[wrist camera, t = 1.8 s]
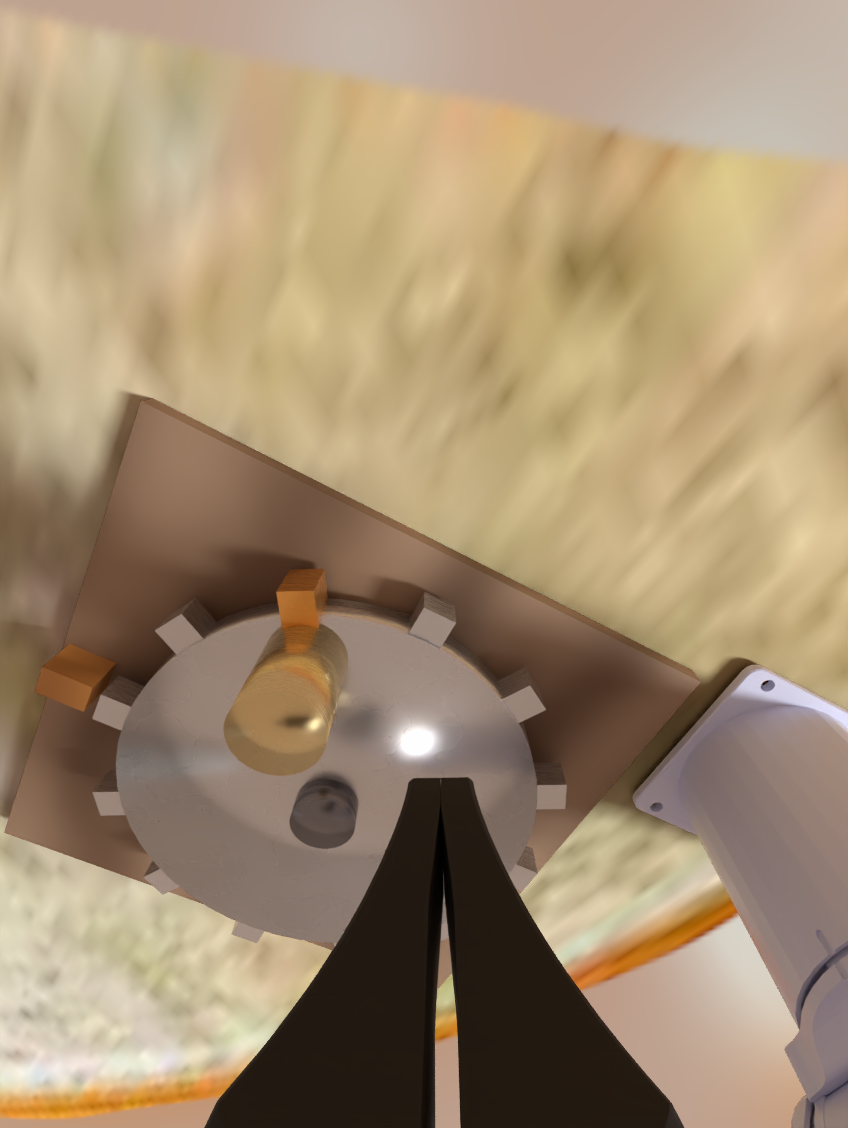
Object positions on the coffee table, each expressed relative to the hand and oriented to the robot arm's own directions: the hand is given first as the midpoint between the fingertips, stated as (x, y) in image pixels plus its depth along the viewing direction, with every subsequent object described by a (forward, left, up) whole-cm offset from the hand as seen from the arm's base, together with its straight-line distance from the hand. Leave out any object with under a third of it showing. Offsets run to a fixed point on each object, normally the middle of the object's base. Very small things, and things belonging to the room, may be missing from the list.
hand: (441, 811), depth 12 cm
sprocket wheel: (+1, +8, -8) cm, 11 cm away
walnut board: (+1, +8, -9) cm, 12 cm away
